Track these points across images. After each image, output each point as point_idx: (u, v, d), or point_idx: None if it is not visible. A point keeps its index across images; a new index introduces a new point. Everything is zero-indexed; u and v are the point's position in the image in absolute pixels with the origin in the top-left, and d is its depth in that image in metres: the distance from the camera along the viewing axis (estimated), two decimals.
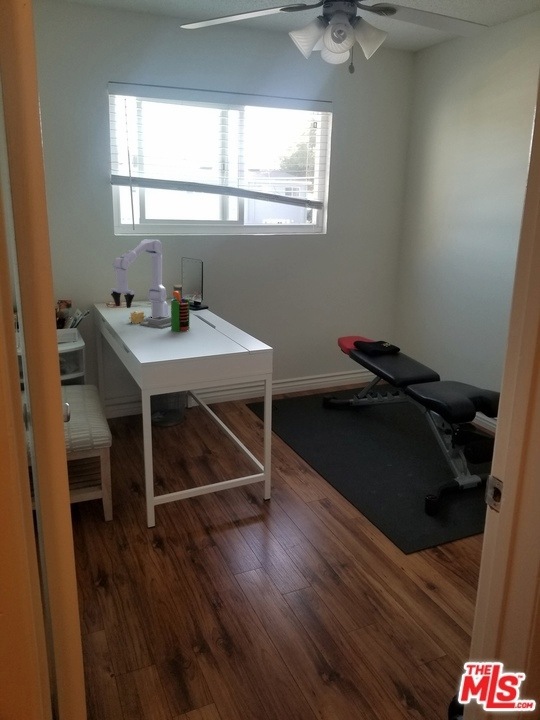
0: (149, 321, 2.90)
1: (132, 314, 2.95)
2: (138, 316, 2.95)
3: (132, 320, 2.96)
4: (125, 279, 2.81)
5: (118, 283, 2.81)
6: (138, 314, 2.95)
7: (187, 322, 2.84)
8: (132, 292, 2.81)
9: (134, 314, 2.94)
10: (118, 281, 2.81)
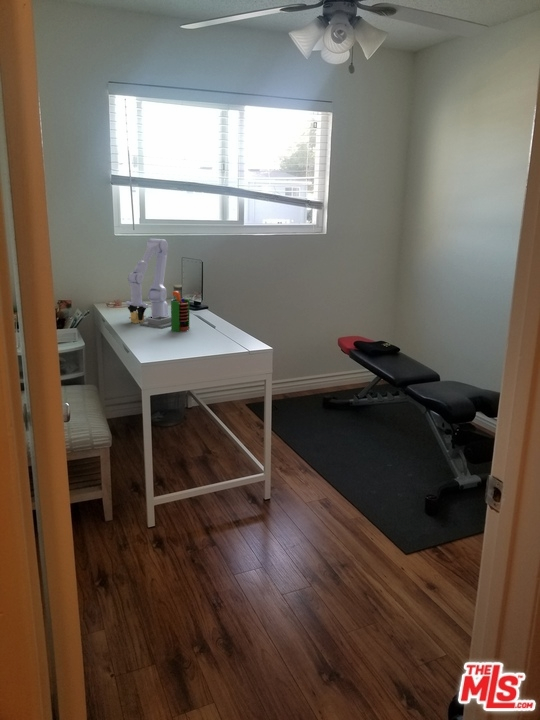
0: (149, 321, 2.90)
1: (132, 314, 2.95)
2: None
3: (132, 320, 2.96)
4: (139, 293, 2.92)
5: (133, 297, 2.92)
6: None
7: (187, 322, 2.84)
8: (146, 305, 2.92)
9: (134, 314, 2.94)
10: (133, 295, 2.92)
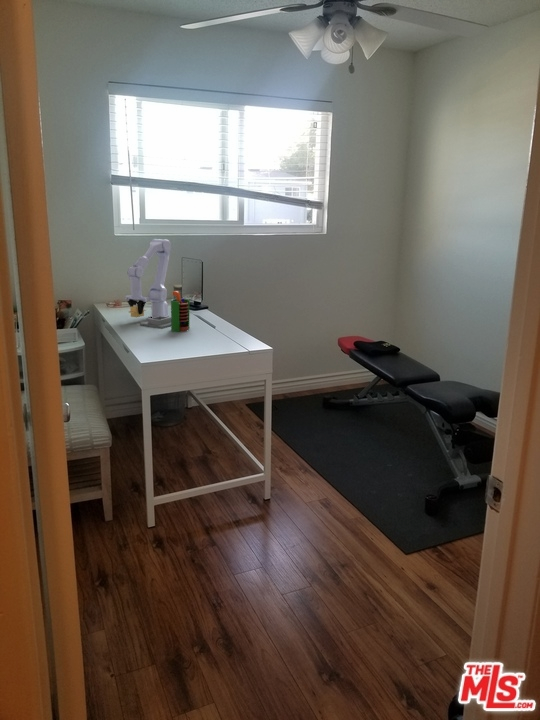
0: (149, 321, 2.90)
1: (132, 308, 2.94)
2: None
3: (132, 314, 2.95)
4: (139, 287, 2.91)
5: (132, 291, 2.91)
6: None
7: (187, 322, 2.84)
8: (146, 299, 2.91)
9: (134, 308, 2.93)
10: (132, 289, 2.91)
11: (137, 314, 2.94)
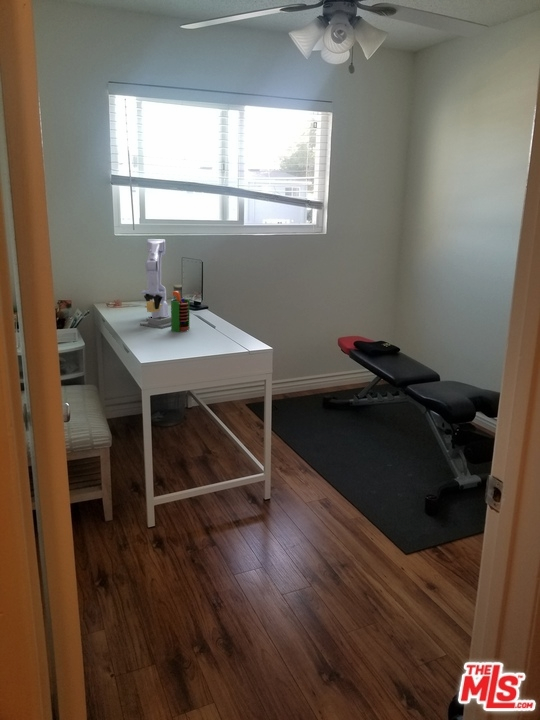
0: (149, 321, 2.90)
1: (148, 303, 2.89)
2: (154, 305, 2.90)
3: (148, 309, 2.90)
4: (157, 281, 2.88)
5: (149, 285, 2.86)
6: (154, 303, 2.89)
7: (187, 322, 2.84)
8: (163, 294, 2.86)
9: (150, 303, 2.88)
10: (152, 283, 2.86)
11: (153, 309, 2.89)
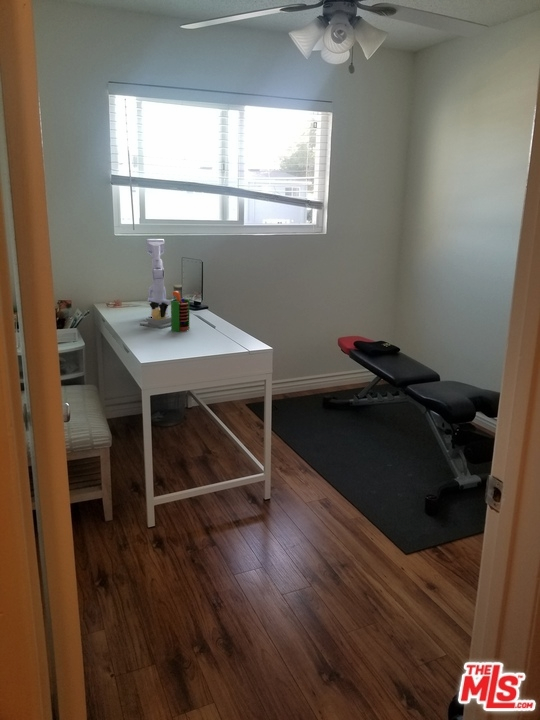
0: (149, 321, 2.90)
1: (154, 311, 2.89)
2: (160, 313, 2.90)
3: (154, 317, 2.90)
4: (163, 289, 2.89)
5: (155, 293, 2.86)
6: (160, 311, 2.89)
7: (187, 322, 2.84)
8: (169, 302, 2.86)
9: (156, 311, 2.88)
10: (159, 291, 2.86)
11: (159, 317, 2.89)
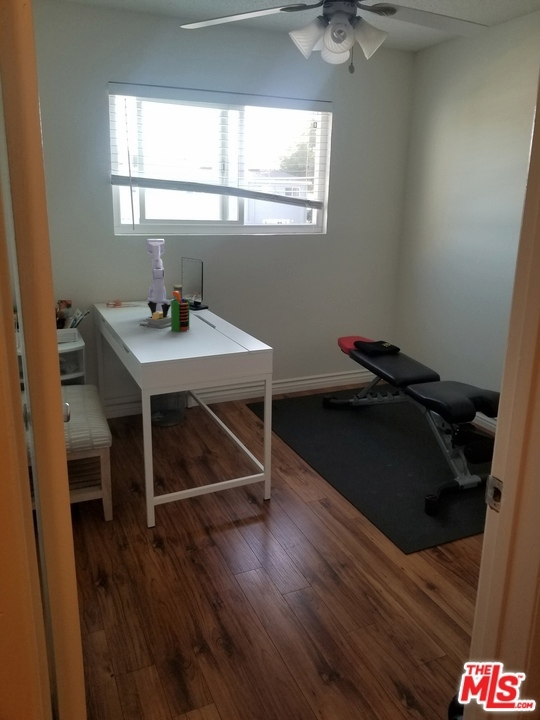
0: (149, 321, 2.90)
1: (154, 314, 2.90)
2: (160, 317, 2.90)
3: None
4: (163, 289, 2.89)
5: (155, 293, 2.86)
6: (160, 314, 2.90)
7: (187, 322, 2.84)
8: (169, 302, 2.86)
9: (156, 314, 2.89)
10: (159, 291, 2.86)
11: None
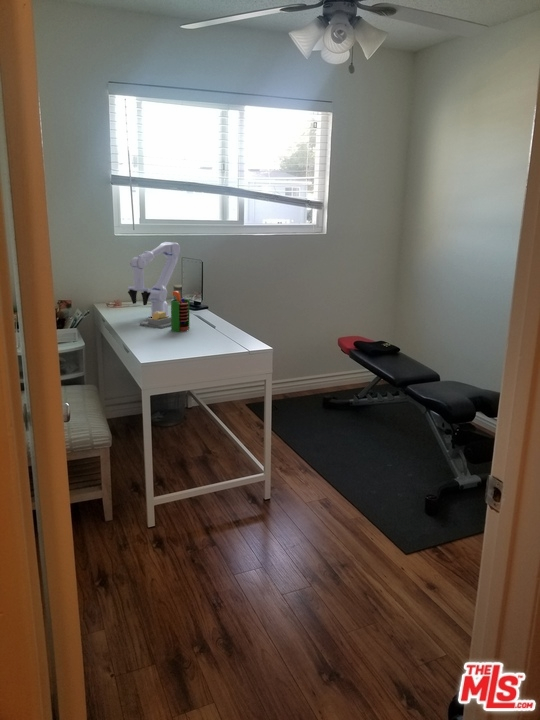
0: (149, 321, 2.90)
1: (154, 314, 2.90)
2: (160, 317, 2.90)
3: None
4: (141, 278, 2.94)
5: (135, 281, 2.94)
6: (160, 314, 2.90)
7: (187, 322, 2.84)
8: (149, 290, 2.94)
9: (156, 314, 2.89)
10: (135, 279, 2.94)
11: None
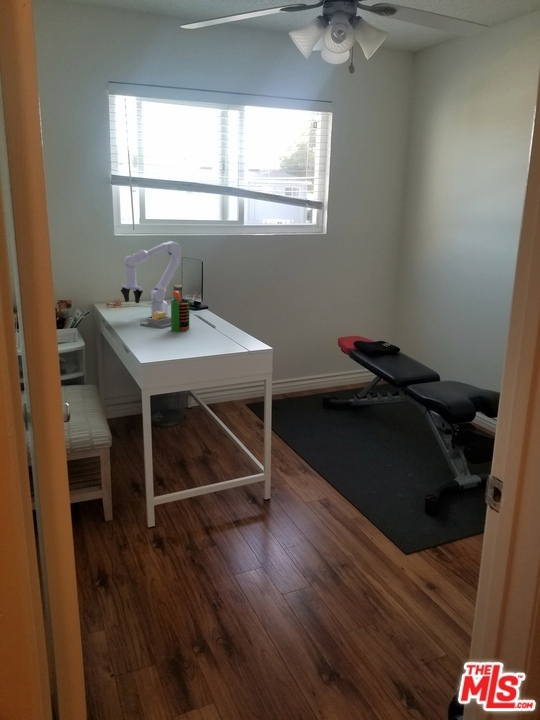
0: (149, 321, 2.90)
1: (154, 314, 2.90)
2: (160, 317, 2.90)
3: None
4: (131, 276, 2.97)
5: (127, 280, 2.98)
6: (160, 314, 2.90)
7: (187, 322, 2.84)
8: (141, 288, 2.98)
9: (156, 314, 2.89)
10: (126, 277, 2.98)
11: None
